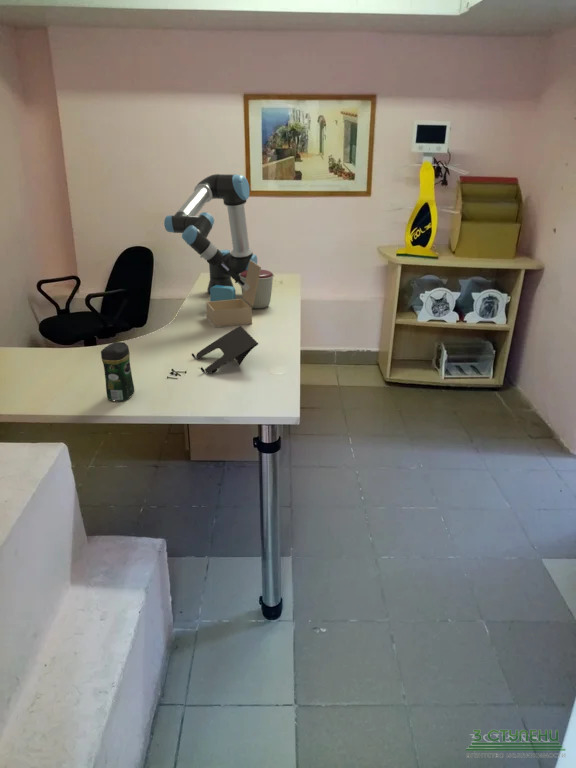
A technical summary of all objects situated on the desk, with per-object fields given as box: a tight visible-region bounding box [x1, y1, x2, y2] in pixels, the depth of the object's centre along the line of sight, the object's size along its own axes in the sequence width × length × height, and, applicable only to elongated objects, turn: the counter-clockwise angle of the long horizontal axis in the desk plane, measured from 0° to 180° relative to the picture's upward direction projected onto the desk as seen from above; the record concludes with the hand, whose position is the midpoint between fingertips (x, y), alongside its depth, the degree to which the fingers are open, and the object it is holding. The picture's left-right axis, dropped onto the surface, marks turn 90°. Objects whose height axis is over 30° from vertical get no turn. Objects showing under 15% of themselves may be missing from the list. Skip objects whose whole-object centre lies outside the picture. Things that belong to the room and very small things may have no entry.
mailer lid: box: [241, 260, 262, 306], centre depth 267 cm, size 16×18×1 cm
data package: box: [209, 285, 237, 302], centre depth 285 cm, size 12×4×12 cm, turn 71°
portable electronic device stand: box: [190, 325, 259, 374], centre depth 220 cm, size 23×23×9 cm
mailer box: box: [205, 298, 253, 329], centre depth 269 cm, size 16×18×8 cm
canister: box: [239, 269, 275, 310], centre depth 290 cm, size 18×18×21 cm
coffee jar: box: [100, 341, 135, 402], centre depth 188 cm, size 10×8×19 cm
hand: (247, 288), depth 267 cm, fingers closed
